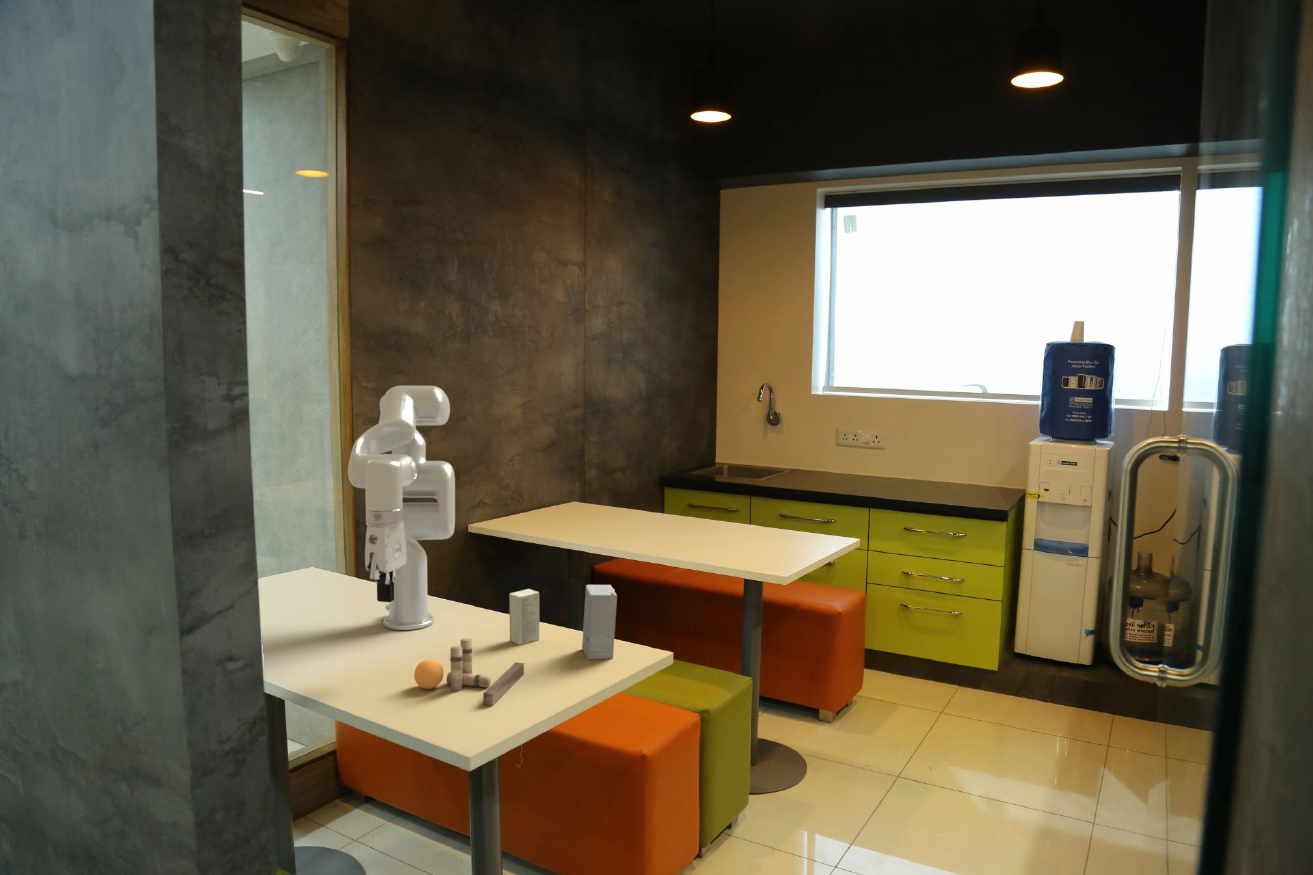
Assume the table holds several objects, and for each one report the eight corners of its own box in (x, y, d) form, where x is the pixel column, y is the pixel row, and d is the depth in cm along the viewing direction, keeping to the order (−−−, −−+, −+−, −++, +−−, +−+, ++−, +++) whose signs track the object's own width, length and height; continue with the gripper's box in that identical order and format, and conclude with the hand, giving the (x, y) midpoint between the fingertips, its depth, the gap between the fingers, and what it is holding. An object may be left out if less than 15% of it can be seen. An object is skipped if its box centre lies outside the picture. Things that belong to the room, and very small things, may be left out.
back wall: (483, 704, 177) (483, 692, 176) (515, 673, 194) (515, 662, 194) (492, 705, 176) (492, 693, 176) (523, 673, 194) (523, 662, 194)
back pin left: (458, 680, 189) (458, 639, 189) (467, 677, 191) (467, 637, 190) (465, 683, 188) (465, 642, 187) (474, 680, 190) (474, 639, 189)
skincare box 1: (529, 635, 220) (529, 588, 219) (540, 639, 217) (540, 591, 216) (508, 641, 216) (508, 592, 214) (519, 645, 212) (519, 596, 211)
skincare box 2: (581, 648, 211) (581, 584, 209) (610, 646, 212) (611, 582, 211) (586, 660, 203) (587, 593, 201) (617, 658, 204) (617, 592, 203)
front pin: (447, 670, 187) (487, 674, 185) (452, 673, 189) (491, 676, 187) (445, 682, 186) (485, 686, 184) (449, 684, 188) (489, 688, 186)
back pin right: (448, 689, 185) (447, 647, 184) (458, 686, 186) (457, 644, 186) (455, 692, 183) (454, 650, 182) (464, 689, 185) (464, 647, 184)
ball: (443, 694, 184) (422, 689, 187) (453, 666, 187) (432, 662, 190) (424, 686, 180) (404, 682, 183) (435, 657, 182) (414, 654, 185)
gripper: (382, 524, 179) (384, 612, 181) (417, 511, 194) (418, 592, 195) (349, 522, 181) (351, 609, 182) (385, 509, 195) (387, 590, 197)
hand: (385, 600), depth 189 cm, fingers closed
